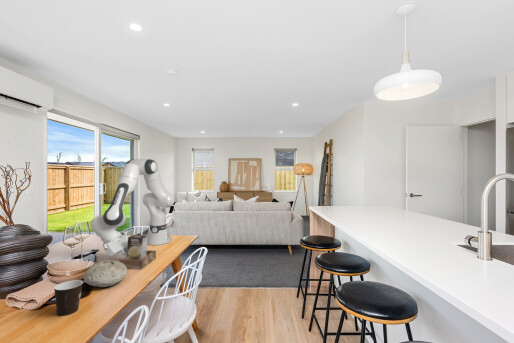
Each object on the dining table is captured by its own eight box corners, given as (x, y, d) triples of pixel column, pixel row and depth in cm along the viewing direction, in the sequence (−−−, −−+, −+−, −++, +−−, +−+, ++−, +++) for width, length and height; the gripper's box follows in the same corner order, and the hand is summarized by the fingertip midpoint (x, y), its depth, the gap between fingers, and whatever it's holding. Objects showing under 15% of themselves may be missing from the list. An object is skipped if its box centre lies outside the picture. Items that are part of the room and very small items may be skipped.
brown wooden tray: (125, 259, 156) (125, 250, 156) (155, 260, 155) (155, 250, 155) (107, 270, 137) (107, 259, 137) (141, 271, 137) (141, 260, 137)
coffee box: (126, 265, 143) (126, 237, 144) (131, 261, 150) (132, 234, 150) (141, 265, 143) (142, 237, 143) (146, 261, 149) (147, 235, 150)
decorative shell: (135, 278, 125) (135, 258, 125) (105, 294, 107) (106, 271, 108) (106, 274, 129) (106, 255, 129) (73, 289, 112) (74, 267, 112)
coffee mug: (63, 305, 98) (64, 280, 98) (86, 305, 98) (87, 279, 99) (40, 323, 86) (41, 294, 86) (66, 322, 87) (67, 293, 87)
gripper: (105, 239, 136) (122, 257, 136) (125, 231, 157) (140, 247, 156) (97, 247, 136) (114, 265, 136) (118, 238, 157) (133, 254, 156)
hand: (128, 255), depth 146 cm, fingers closed, pressing on coffee box
